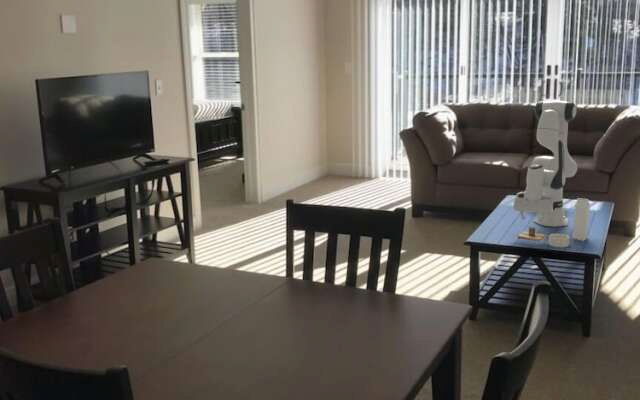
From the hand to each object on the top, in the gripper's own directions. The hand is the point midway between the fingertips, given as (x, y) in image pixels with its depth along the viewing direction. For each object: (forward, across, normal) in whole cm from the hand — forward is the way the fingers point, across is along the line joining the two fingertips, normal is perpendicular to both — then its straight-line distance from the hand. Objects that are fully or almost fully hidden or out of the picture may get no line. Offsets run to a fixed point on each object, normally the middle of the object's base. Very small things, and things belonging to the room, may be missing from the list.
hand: (532, 220), depth 369 cm
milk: (+9, -23, -11) cm, 27 cm away
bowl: (+10, -16, +7) cm, 20 cm away
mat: (+10, 0, -1) cm, 10 cm away
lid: (+9, 0, -1) cm, 9 cm away
